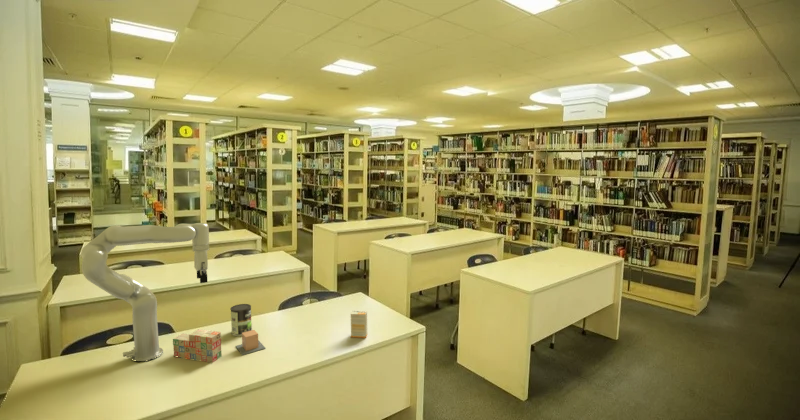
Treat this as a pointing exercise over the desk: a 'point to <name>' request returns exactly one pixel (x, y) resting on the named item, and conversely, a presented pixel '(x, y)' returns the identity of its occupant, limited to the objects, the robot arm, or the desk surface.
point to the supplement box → (359, 324)
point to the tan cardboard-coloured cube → (250, 340)
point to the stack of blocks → (198, 345)
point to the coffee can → (241, 319)
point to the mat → (251, 349)
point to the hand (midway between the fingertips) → (202, 280)
